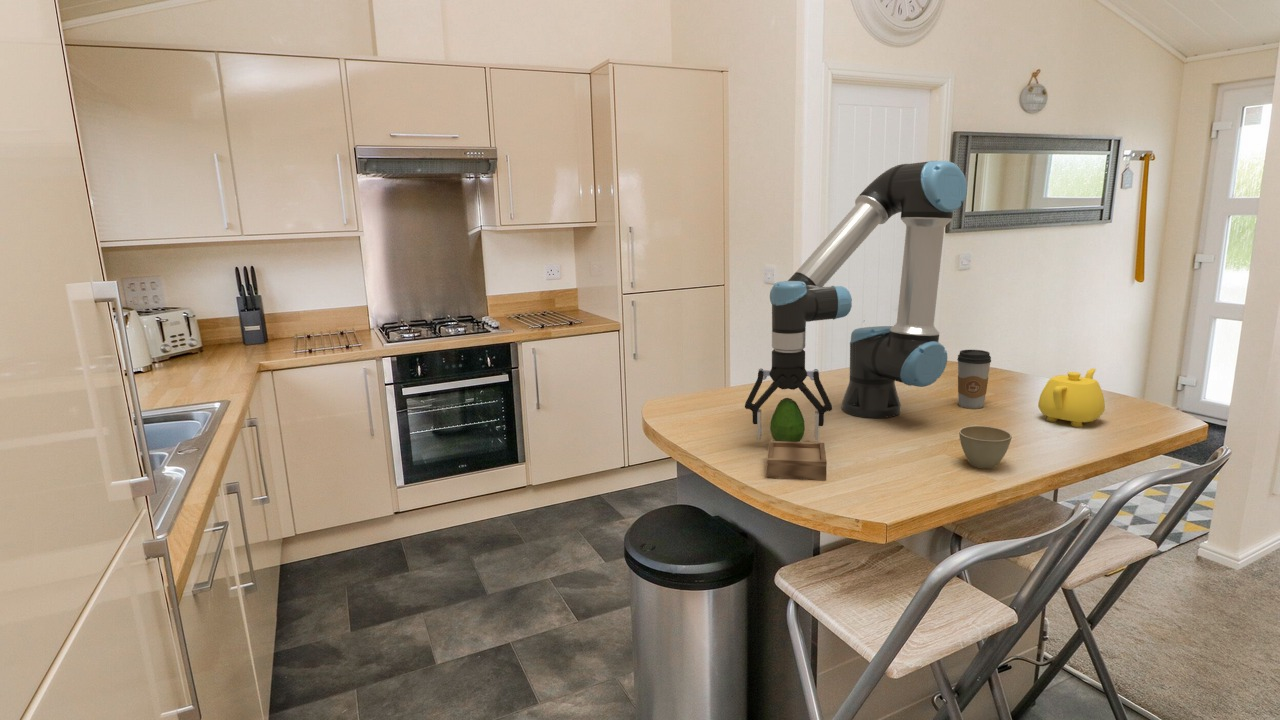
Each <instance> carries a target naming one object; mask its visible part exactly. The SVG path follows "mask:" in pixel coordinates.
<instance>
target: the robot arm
mask: <svg viewBox="0 0 1280 720" xmlns="http://www.w3.org/2000/svg"><path fill="white" fill-rule="evenodd" d="M967 191H968V184H967V179H966V176H965V174H964V172H963V171H962V170H961V168H960V167H959V166H958V165H957V164H956V163H954V162H952V161H950V160H949V161H948V160H930V161H922V162H914V163H902V164H897V165H895V166H893V167H890V168H889V169H887V170H885V171H884V172H883V173H881V174H880V175H878V176H877V177H876V178H875V179H874V180H872V182H870V183H869V184H868V185H867V186H866V188H864V189H863V190H862V191H861V193H859V195H858V196H857V197H856V199H855V200H854V201H855V202H854V203H855V206H854V207H852V208H851V210H850V211H849V212H848V213H847V214H846V215H845V217H844V218H842V220H840V222H839V223H838V224H837V225H836V226H835V227H834V229H833V230H832V231H831V232H830V233H829V234H828V235H827V237H826V238H825V239H824V240H823V241H822V242H821V243H820V244H819V246H817V248H816V249H815V250H814V251H813V252H812V253H811V254H810V256H809V257H808V258H807V259H806V260H805V262H804V263H802V265H800V267H799V268H798V269H797V270H796V271H795V272H794V273H793V274H792V276H791V277H790V278H789V279H788V280H783V281H778V282H776V283H774V284H773V286H772V288H771V289H770V292H769V300H770V304H771V348H772V349H773V350H772V351H771V369H770V370H765V369H763V368H758V372H757V379H756V381H755V383H754V385H753V387H752V388H751V391H750V393H749V395H748V396H747V399H746V401H745V404H744V408H745V409H746V410H749V411H751V412H752V425H757V426H756V427H757V431H756V434H757V435H756V436H757V437H756V438H757V440H761V437H762V409H761V408H762V406H763V405H764V404H765V403H766V402H767V401H768V399H769V398H770V397H771V396H772V394H773V393H774V392H775V391H776V390H777V389H778V388H779V389H781V390H792V391H794V390H796V389H798V390H799V391H801V393H803V395H804V396H805V397H806V399H807V400H808V401H809V402H810V403H811V405H812V406H813V407H814V408H815V409H816V410H815V412H814V441H815V442H819V434H820V433H819V431H820V429H819V428H820V427H824V425H825V413H827V412H831V411H833V406H832V403H831V401H830V399H829V396H828V395H827V392H826V390H825V388H824V385H823V384H822V382H821V380H820V371H819V370H818V369H817V368H814V369H813V370H807V369H806V351H805V348H806V333H807V332H806V327H807V326H806V325H807V323H809V322H814V321H815V322H817V321H826V320H828V321H829V320H834V321H835V320H836V319H840V318H844V317H846V316H848V315H849V314H850V311H851V309H852V307H853V305H852V304H853V299H852V294H851V293H850V291H849V290H848V289H847V288H846V287H844V286H841V285H836V286H835V285H831V286H825V285H826V283H828V282H829V281H830V280H831V278H832V277H833V276H834V275H835V274H836V272H837V271H838V270H840V268H841V267H842V266H843V265H844V264H845V262H846V261H847V260H848V259H849V258H850V257H851V256H852V254H853V253H855V251H856V250H857V249H858V248H859V247H860V246H861V244H862V243H864V241H865V240H866V239H867V238H868V237H869V236H870V235H871V233H873V231H874V230H875V229H876V227H878V226H879V225H883V224H885V223H886V222H888V220H890V218H891V217H893V216H895V215H896V214H899V213H900V220H901V221H902V222H903V224H904V225H905V227H906V228H905V238H904V249H903V258H902V266H901V268H902V269H901V275H900V276H901V278H900V286H899V297H898V298H899V299H898V306H897V307H898V308H897V318H896V323H895V324H893V325H891V326H890V325H885V326H884V325H883V326H867V327H858V328H856V329H854V330H853V331H852V332H851V334H850V335H851V336H850V342H849V383H848V385H847V387H846V390H845V393H844V396H843V399H842V403H841V409H842V411H843V412H844V413H846V414H848V415H851V416H854V417H860V418H868V419H882V418H883V419H885V418H890V417H891V418H892V417H895V416H897V415H900V413H901V400H900V397H899V396H898V395H899V394H898V391H897V388H896V384H895V383H896V382H898V383H902V384H904V385H906V386H910V387H911V386H913V387H918V388H925V387H928V386H930V385H932V384H934V383H936V382H937V380H938V379H939V378H941V376H942V375H943V373H944V372H945V370H946V367H947V364H948V352H947V350H946V348H945V346H944V345H942V344H941V343H940V342H939V341H940V332H939V331H938V329H937V328H936V327H935V317H936V316H935V315H936V306H937V300H938V299H937V298H938V290H939V289H938V288H939V279H940V272H941V262H942V255H943V254H942V252H943V243H944V242H943V241H944V233H945V227H946V226H947V225H948V224H949V223H951V222H952V221H953V216H954V211H956V210H958V209H959V208H960V207H962V204H963V203H964V202H965V200H966V198H967V197H966V196H967ZM767 377H770V378H771V379H772V383H771V384H770V385H769V387H768V388H766V390H764V392H763V394H762V395H761V396H760V397H759V398H757V400H756V402H755V403H753V401H754V399H755V398H756V396H757V394H758V392H759V390H760V388H761V386H762V383H763V381H765V380H767ZM807 377H809V379H810V380H811V381H814V385H815V387H816V390H817V391H818V394H819V397H820V398H821V400H822V401H823V405H822V403H821V402H820V401H819V400H818V399H817V398H816V396H815V395H814V394H813V393H812V391H811V390H810V389H809V388H808V387H807V385H806V383H805V382H804V381H805V380H806V378H807Z"/></svg>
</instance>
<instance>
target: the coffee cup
mask: <svg viewBox="0 0 1280 720" xmlns="http://www.w3.org/2000/svg"><path fill="white" fill-rule="evenodd" d="M956 361H957V392H958V395H957V398H958V405H959V407H962V408H965V409H971V410H977V409H978V410H979V409H981V408H983V407H984V406H985V403H986V402H985V400H986V395H987V388H988V383H989V372H990V366H991V363H992V357H991V354H990V352H989V351H986V350H982V349H962V350H960V351H959V354H958V355H957V360H956Z"/></svg>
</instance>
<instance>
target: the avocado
mask: <svg viewBox="0 0 1280 720" xmlns="http://www.w3.org/2000/svg"><path fill="white" fill-rule="evenodd" d="M769 425H770V426H769V427H770V428H769V430H770V433H771V437H772V439H773V441H787V442H802V439H803V437H804V435H805V430H806V427H805V419H804V416H803V414H802V410H801V409H800V407H799V405H798V403H797V402H796V401H795V400H794V399H792V398H791V397H785V398H783V399H780V401H779V402H778V404H777V405H776V408H775V410H774V412H773V414H772V417H771V420H770V424H769Z"/></svg>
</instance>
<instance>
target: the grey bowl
mask: <svg viewBox="0 0 1280 720" xmlns="http://www.w3.org/2000/svg"><path fill="white" fill-rule="evenodd" d="M958 432H959V433H958V435H959V441H960V445H961V448H962V450H963V451H962V452H963V453H964V455H965V458H966V460H967V461H968V462H969V465H971V466H972V467H975V468H979V469H994V468H996V467H997V466H998V465H999V464H1000V463H1001V461H1002V460H1003V459H1004V457H1005V455H1006V454H1007V451H1008V450H1009V447H1010V444H1011V442H1012V441H1011V440H1012V434H1011V433H1010V432H1009V431H1007V430H1006V429H1003V428H999V427H994V426H988V425H969V426H965V427H964V426H963V427H961V428H960V429H959V431H958Z"/></svg>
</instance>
